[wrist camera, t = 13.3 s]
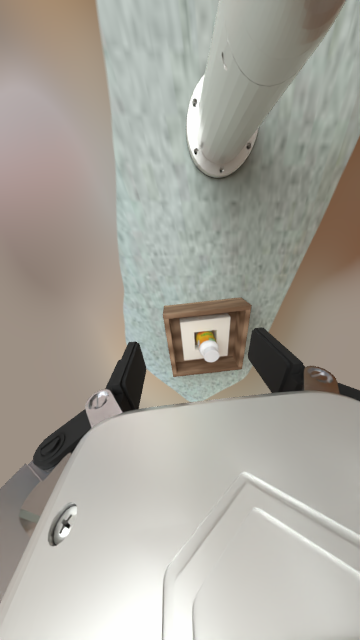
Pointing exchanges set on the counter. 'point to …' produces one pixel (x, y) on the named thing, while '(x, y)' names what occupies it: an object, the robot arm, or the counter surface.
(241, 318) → the open box
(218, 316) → the socket plate
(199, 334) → the supplement bottle
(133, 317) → the counter surface
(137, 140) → the counter surface
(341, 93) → the counter surface
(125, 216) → the counter surface
